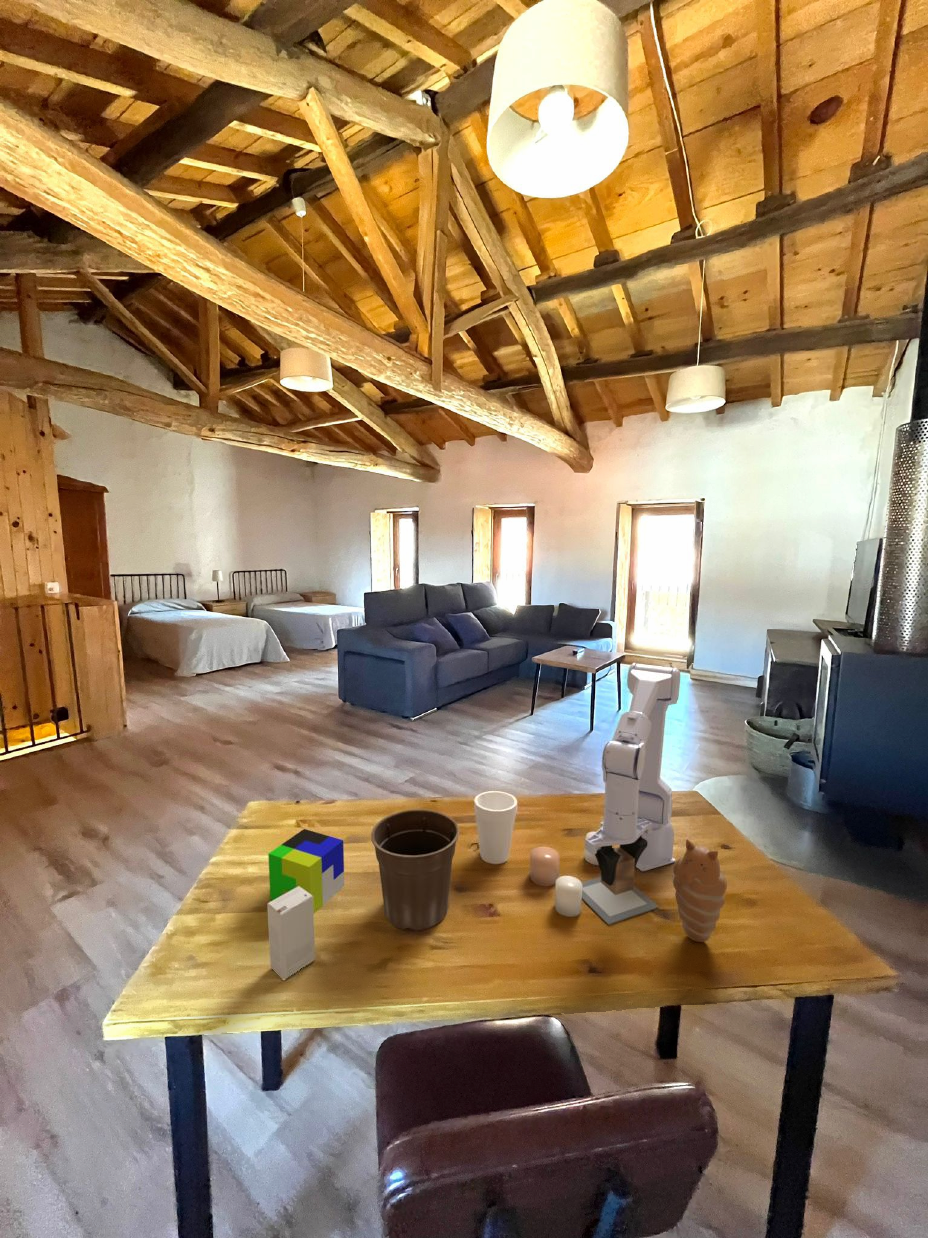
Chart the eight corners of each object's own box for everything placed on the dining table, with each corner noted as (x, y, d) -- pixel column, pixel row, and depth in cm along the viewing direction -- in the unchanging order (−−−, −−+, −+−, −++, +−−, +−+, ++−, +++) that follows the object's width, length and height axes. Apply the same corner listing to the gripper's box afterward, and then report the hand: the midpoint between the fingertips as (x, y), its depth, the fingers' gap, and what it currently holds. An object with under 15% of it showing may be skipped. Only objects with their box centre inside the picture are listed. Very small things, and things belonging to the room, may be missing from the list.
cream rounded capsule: (569, 896, 107) (570, 873, 106) (586, 911, 103) (587, 887, 102) (549, 904, 104) (550, 880, 104) (566, 920, 100) (567, 896, 99)
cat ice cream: (662, 938, 96) (668, 843, 93) (680, 916, 101) (686, 827, 99) (713, 965, 90) (722, 865, 87) (730, 941, 95) (738, 846, 93)
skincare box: (301, 948, 93) (299, 883, 91) (316, 961, 90) (314, 894, 88) (268, 969, 88) (265, 901, 86) (283, 984, 85) (280, 914, 83)
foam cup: (513, 871, 115) (514, 813, 113) (470, 865, 117) (471, 808, 115) (517, 846, 124) (518, 793, 122) (478, 841, 126) (478, 789, 124)
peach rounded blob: (543, 864, 117) (543, 843, 116) (564, 878, 112) (565, 856, 112) (523, 875, 113) (523, 854, 113) (544, 890, 109) (545, 867, 108)
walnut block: (618, 877, 100) (619, 847, 100) (632, 889, 97) (634, 858, 96) (600, 882, 99) (602, 852, 98) (615, 895, 95) (617, 863, 94)
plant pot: (412, 955, 91) (411, 867, 89) (355, 911, 102) (353, 831, 100) (475, 908, 103) (477, 829, 101) (418, 873, 114) (418, 801, 112)
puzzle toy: (344, 886, 109) (343, 840, 108) (311, 916, 100) (309, 867, 99) (305, 873, 114) (304, 828, 112) (270, 901, 105) (268, 853, 103)
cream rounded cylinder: (602, 852, 122) (604, 831, 122) (610, 865, 117) (613, 843, 117) (581, 852, 122) (583, 831, 121) (588, 865, 117) (590, 844, 116)
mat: (617, 873, 115) (617, 871, 114) (658, 908, 104) (658, 906, 104) (570, 887, 110) (570, 885, 110) (608, 925, 99) (608, 923, 99)
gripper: (632, 789, 103) (629, 855, 105) (574, 807, 96) (571, 878, 98) (662, 805, 97) (658, 875, 99) (602, 826, 90) (599, 900, 91)
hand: (617, 878), depth 98 cm, fingers closed on walnut block, 4 cm apart
